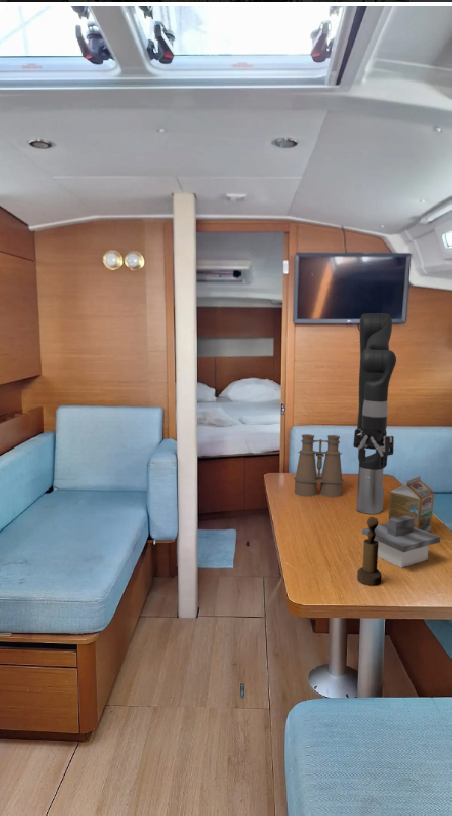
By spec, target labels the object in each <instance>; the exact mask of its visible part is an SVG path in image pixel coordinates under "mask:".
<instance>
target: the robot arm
mask: <svg viewBox="0 0 452 816" xmlns="http://www.w3.org/2000/svg"><path fill="white" fill-rule="evenodd" d="M392 319H393V318H392V317H391V315H390V314H389V313H384V312H377V313H374V312H373V313H372V312H370V313H368V312H367V313H362V314H361V316H360V319H359V326H358V327H359V372H358V411H357V414H358V415H357V425H356V429H355V430H354V435H353V444H352V445H353V447H354V448H356V449H357V450H358V451H357V452H358V453H357V460H358V473H357V491H356V507H355V509H356V511H358V512H360V513H363V514H369V515H370V514H371V515H375V514H376V515H377V514H380V513H382V511H383V510H384V497H385V496H384V495H385V486H384V485H383V483H384V469H385V468H386V467H387V465H388V457H389V456H393V455H394V441H395V440H394V438H395V437H394V436H393V435H387V432H388V431H387V427H388V426H387V425H388V408H389V405H388V396H389V394H388V393H389V386H390V381H391V378H392V375H393V372H394V370H395V367H396V363H397V357H396V354H395V352H394V351H393V350H390V346H389V345H390V340H391V336H392V330H393V322H392V321H393V320H392ZM366 450H372V451H373V450H374V451H375V452H374V453H373V454H371V455H368V456H366Z"/></svg>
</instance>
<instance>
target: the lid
mask: <svg viewBox="0 0 452 816" xmlns="http://www.w3.org/2000/svg"><path fill="white" fill-rule="evenodd" d="M414 520H415V518H413V517H410V516H408V515H405V516H401V517H396V518H392V519H389V518H388V522H387V523H386V522H385V523H382V524H378V526H377V527H376V529H375V533H376V537H375V540H377V541H379V542H381V543H384V544H386V545H388V546H390V547H392V548H395V549H397V550H399V551H401V552H406V551H410V550H414V549H417V548H421V547H424V546H428V545H429V546H431V545H435V544H438V543H441V536H439V535H436V534H434V533H432V532H431V533H429V532H426V531H424V530H421V529H418V528H416V527H414ZM368 532H369V527H368V526H367V527H365V528H362V529H361V534H362V535H364V536H366V537H368V534H367V533H368Z"/></svg>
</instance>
